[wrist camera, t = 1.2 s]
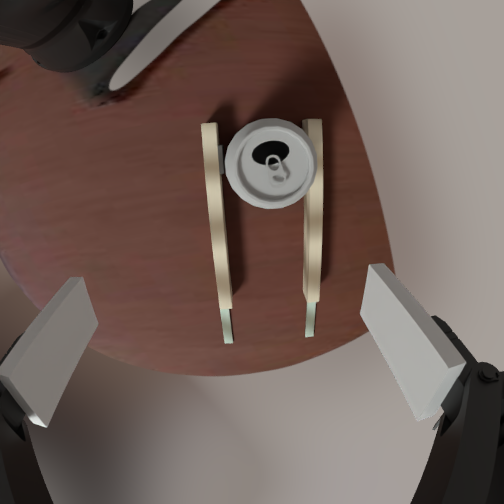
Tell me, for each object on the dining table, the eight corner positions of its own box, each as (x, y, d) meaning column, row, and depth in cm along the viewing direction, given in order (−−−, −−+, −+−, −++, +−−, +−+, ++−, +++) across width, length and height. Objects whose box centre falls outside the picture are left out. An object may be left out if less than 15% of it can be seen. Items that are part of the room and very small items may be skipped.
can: (286, 117, 30) (312, 108, 19) (300, 179, 33) (331, 202, 22) (221, 131, 31) (212, 130, 20) (238, 193, 34) (237, 224, 23)
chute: (201, 125, 30) (197, 124, 27) (317, 120, 30) (324, 119, 28) (224, 342, 42) (224, 355, 39) (312, 334, 42) (317, 347, 39)
